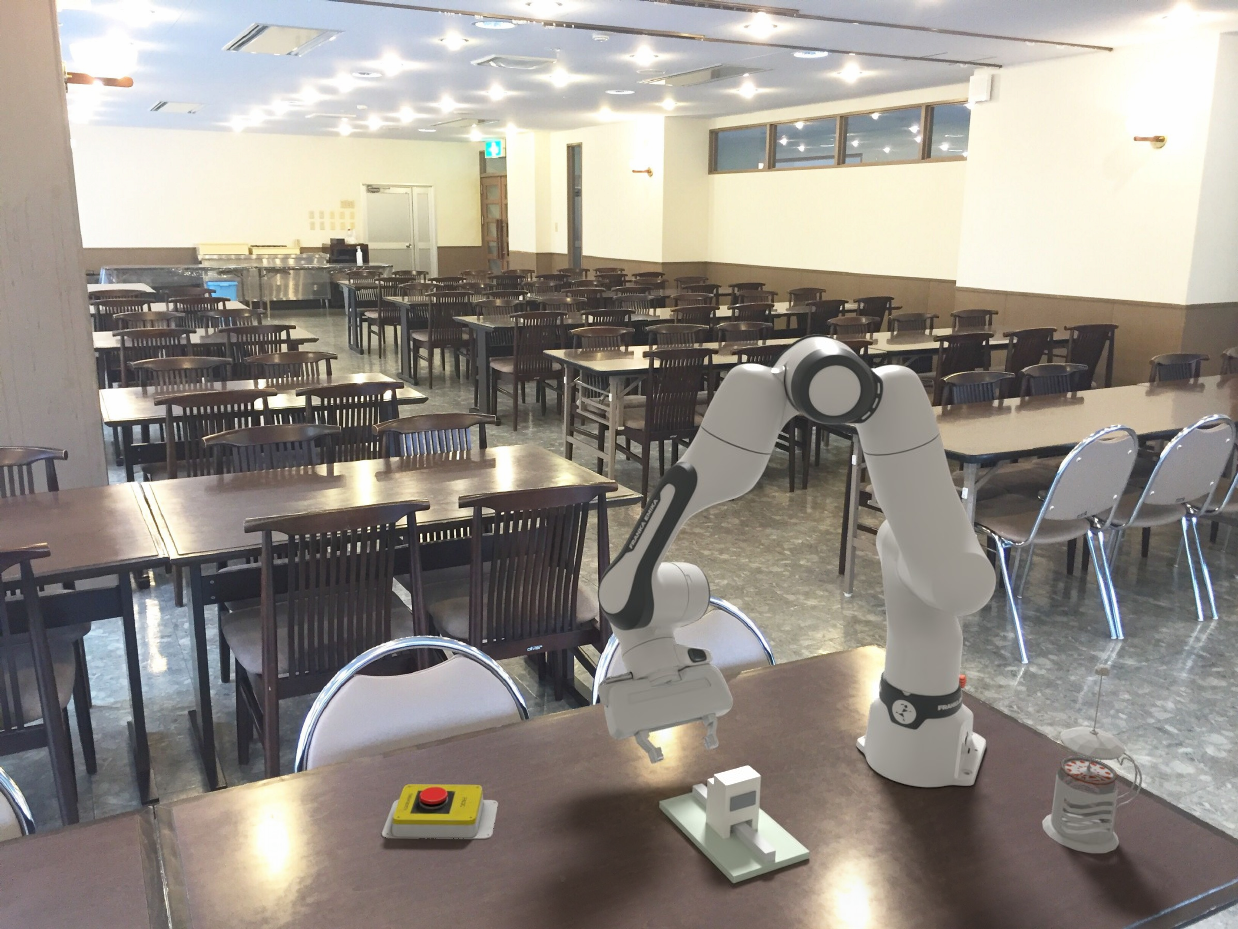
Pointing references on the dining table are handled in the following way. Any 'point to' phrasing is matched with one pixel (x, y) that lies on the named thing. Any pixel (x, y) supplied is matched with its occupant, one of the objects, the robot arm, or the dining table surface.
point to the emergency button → (441, 813)
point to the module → (733, 799)
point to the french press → (1088, 789)
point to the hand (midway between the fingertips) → (685, 754)
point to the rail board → (734, 838)
